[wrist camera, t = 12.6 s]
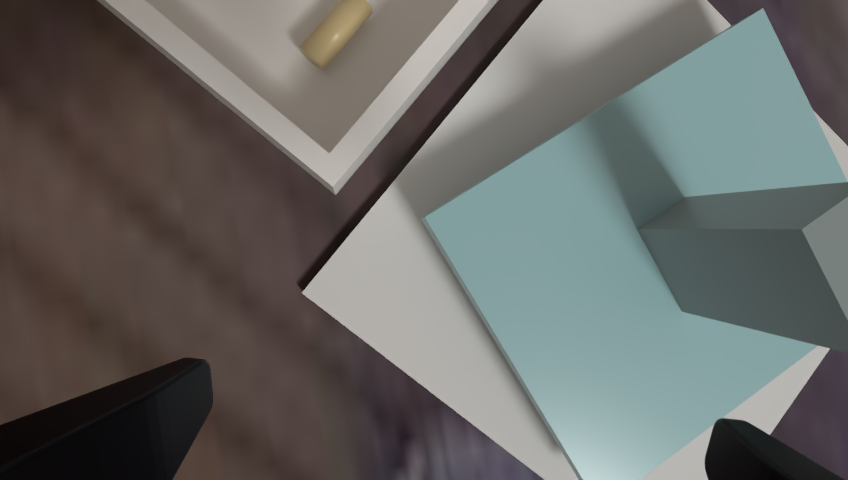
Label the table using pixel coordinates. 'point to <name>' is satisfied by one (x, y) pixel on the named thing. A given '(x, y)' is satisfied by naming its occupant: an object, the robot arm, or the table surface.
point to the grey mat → (480, 157)
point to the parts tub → (310, 65)
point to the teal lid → (661, 253)
